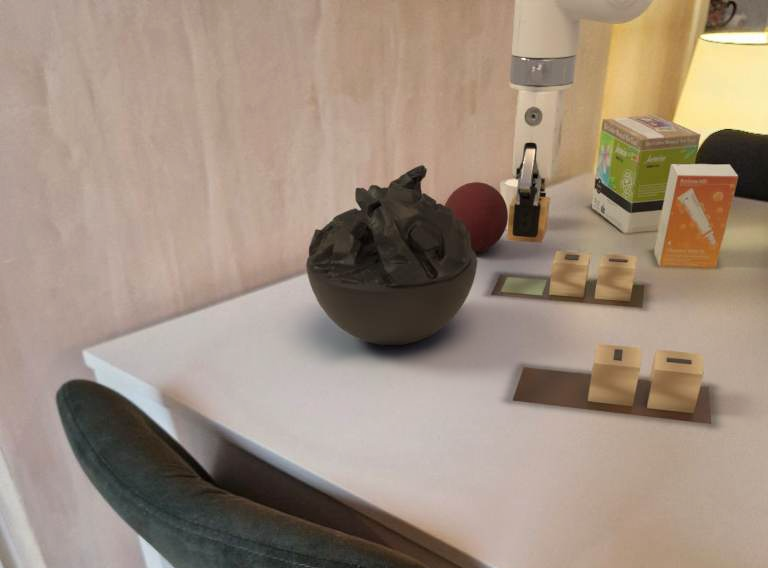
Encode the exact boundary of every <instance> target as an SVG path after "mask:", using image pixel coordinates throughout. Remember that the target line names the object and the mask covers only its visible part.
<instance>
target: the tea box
mask: <svg viewBox="0 0 768 568" xmlns="http://www.w3.org/2000/svg"><path fill="white" fill-rule="evenodd" d="M601 124H602V125H601V129H600V136H599V137H600V138H599V146H598V147H599V148H598V154H597V163H596V170H595V177H594V187H593V193H592V203H591V208H592V210H594V211H596V212H597V213H598V214H600V215H601V216H602V217H603V218H605V219H606V220H608V221H609V222H610V223H611V224H612V225H614V226H615V227H616V228H617V229H618V230H619V231H620V232H622V233H625V234H632V233H641V232H653V231H654V232H655V231H658V228H659V223H660V218H661V213H662V208H663V203H664V198H665V193H666V188H667V182H668V177H669V172H670V167H671V164H696V159H697V156H698V151H699V145H700V139H701V133H698V132H696V131H693V130H692V129H689V128H687V127H685V126H682V125H680V124H678V123H676V122H673V121H672V120H669V119H668V118H665V117H663V116H661V115H658V114H649V115H640V116H639V115H638V116H627V117H618V118H606V119H605V118H603V119H602V123H601Z"/></svg>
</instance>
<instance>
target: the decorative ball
mask: <svg viewBox="0 0 768 568" xmlns="http://www.w3.org/2000/svg"><path fill="white" fill-rule="evenodd" d="M444 206H446V207H449V208H452V210H453V215H454V216H453V217H454V218H455V219H458V220H460V221H462V222H463V223H464V224H465V225H466V229H467V230H468V231H469V233H470V242H471V249H472V250H473V251H474V252H475V253H479V252H484V251H487V250H488V249H491V248H492V247H493V246H494V245H496V244H497V243H498V242H499V241H500V240H501V238H502V237H503V235H504V233H505V231H506V226H507V221H508V211H507V206H506V203H505V200H504V198H503V197H502V195H501V194H500V191H499V190H497V188H495V187H494V186H493V185H490V184H488V183H486V182H481V181H480V182H479V181H474V182H468V183H465V184H463V185H461V186H459V187H457V188H456V189H454V191H453V192H451V194H450V195H449V196H448V198H447V200H446V202H445V203H444Z"/></svg>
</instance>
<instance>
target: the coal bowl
mask: <svg viewBox="0 0 768 568" xmlns="http://www.w3.org/2000/svg"><path fill="white" fill-rule="evenodd" d="M427 171H428V169H427V168H426V167H425V165H424V164H420V165H418V166H416V167H413V168H412V169H410V170H408V171H406V172H404V174H401V175H400V176H399V177H398V178H396V179H394V180H392V181H391V182H390V183H389V185H388V186H387V187H385V186H384V187H381V186H379V185H378V184H371V185H370V186H369V187H368V189H366V188H364V187H356V188H355V192H354V193H355V195H354V198H355V199H354V200H355V202H356V204H357V206H358V207H359V208H360V209H358V208H355V207H354V208H351V209H349V210H346V211H344V212H341V213H339V214H337V215H336V216H334V217H333V218H332V220H331V221H329V223H327V224H326V225H325V226H324V227H322V228H321V229H318V228H316V229H315V230H314V231H313V236H312V237H311V241H310V244H309V246H308V257H307V260H306V263H305V264H306V265H305V268H306V274H307V278H308V282H309V285H310V288H311V290H312V292H313V294H314V296H315V298H316V300H317V302H318V305H320V307H321V309H322V310H323V311H324V313H325V314H326V315H327V316H328V318H329V319H331V321H332V322H333V323H334V324H336V325H337V326H338V327H339V328H340V329H342V330H343V331H345V332H346V333H347V334H349V335H350V336H353V337H355V338H357V339H358V340H361V341H363V342H364V341H365V342H367V343H370V344H373V345H374V344H375V345H379V346H380V345H381V346H401V345H407V344H408V345H409V344H412V343H416V342H418V341H421V340H424V339H426V338H428V337H430V336H432V335H434V334H435V333H437V332H438V331H440V330H441V329H443V327H445V326H447V324H448V323H449V322H451V320H453V318H454V317H455V316H456V315H457V313H459V311H460V310H461V308H462V306H463V305H464V304H465V302H466V300H467V299H468V297H469V294H470V292H471V289H472V287H473V284H474V282H475V277H476V273H477V267H478V258H477V254H476V252H474V251H473V250H472V249H471V242H470V233H469V231H468V230H467V229H466V225H465V224H464V223H463V222H462V221H460V220H458V219H455V218H454V217H453V216H454V215H453V210H452V208H449V207H446V206H445V204H442V203H437V200H436V199H434V198H433V197H432V196H429V195H428V194H427V193H425V192H423V191H422V181H423V179H424V178H426V176H427Z"/></svg>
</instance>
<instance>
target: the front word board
mask: <svg viewBox="0 0 768 568" xmlns="http://www.w3.org/2000/svg"><path fill="white" fill-rule="evenodd" d="M642 350H643V349H642V347H635V346H626V345H625V346H624V345H615V344H614V345H613V344H603V343H596V347H595V352H594V357H593V363H592V370H591V374H590V373H582V372H573V371H566V370H565V371H564V370H556V369H555V370H554V369H545V368H538V367H537V368H535V367H528V366H523V368H522V370H521V374H520V377H519V380H518V382H517V385H516V389H515V391H514V395H513V397H512V402H520V403H521V402H522V403H529V404H537V405H545V406H555V407H564V408H571V409H579V410H588V411H596V412H605V413H614V414H620V415H629V416H631V415H632V416H638V417H646V418H656V419H663V420H672V421H680V422H690V423H696V424H697V423H698V424H706V425H712V412H711V399H710V398H711V397H710V387H709V386H705V385H704V386H703V385H702V382H703V378H704V361H703V359H704V358H703V354H702V353H698V352H697V353H695V352H685V351H674V350H664V349H655V351H654V355H653V361H652V366H651V370H650V375H649V380H648V379H639V378H640V377H639V376H640V371H641V364H642Z"/></svg>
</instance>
